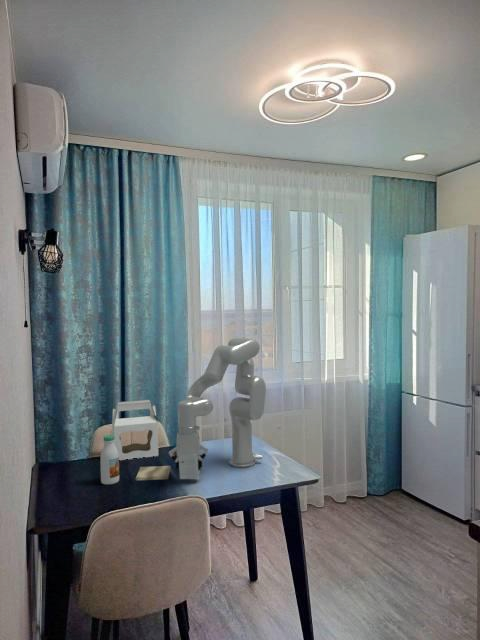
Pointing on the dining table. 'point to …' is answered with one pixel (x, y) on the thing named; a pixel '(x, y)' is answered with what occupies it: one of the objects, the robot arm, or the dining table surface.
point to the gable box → (135, 425)
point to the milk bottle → (109, 461)
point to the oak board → (153, 473)
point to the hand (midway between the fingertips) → (189, 469)
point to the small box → (189, 467)
